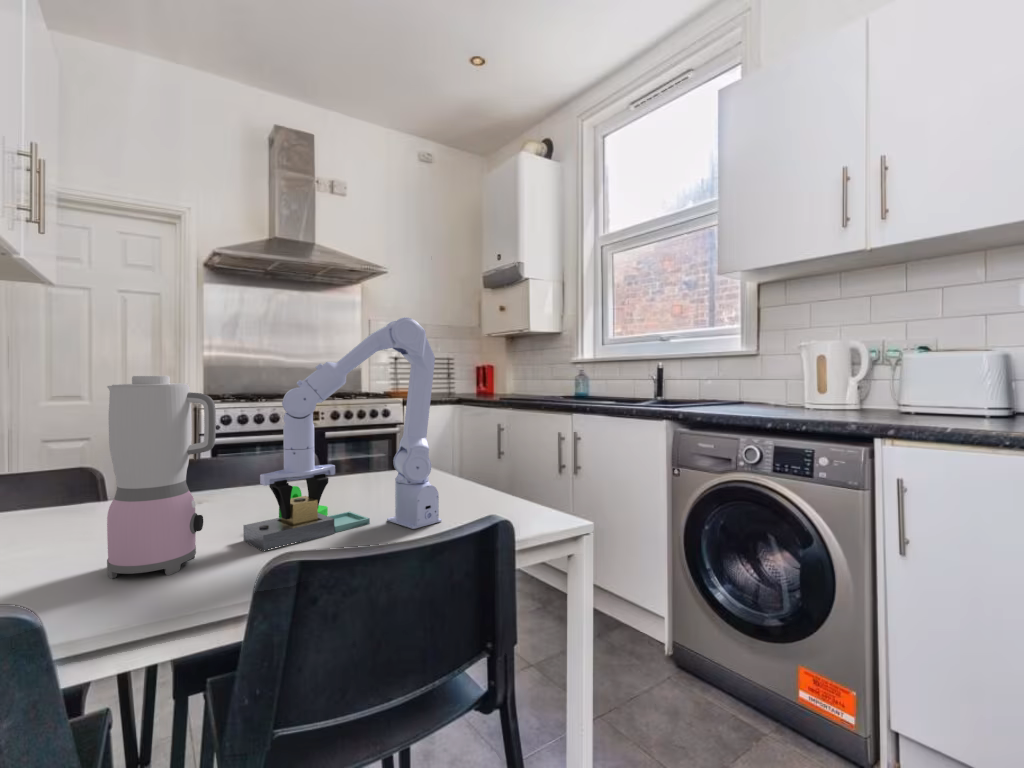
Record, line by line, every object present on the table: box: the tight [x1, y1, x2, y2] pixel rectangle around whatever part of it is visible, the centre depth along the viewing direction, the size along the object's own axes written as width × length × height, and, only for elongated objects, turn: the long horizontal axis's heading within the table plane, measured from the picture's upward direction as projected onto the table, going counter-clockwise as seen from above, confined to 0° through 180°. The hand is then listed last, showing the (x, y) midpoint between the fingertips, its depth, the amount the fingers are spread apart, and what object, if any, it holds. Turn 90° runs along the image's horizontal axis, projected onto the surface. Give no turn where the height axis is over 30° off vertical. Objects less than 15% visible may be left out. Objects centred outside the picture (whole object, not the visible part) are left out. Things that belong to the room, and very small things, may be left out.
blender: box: [106, 375, 217, 579], centre depth 87 cm, size 16×12×32 cm
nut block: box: [282, 495, 318, 527], centre depth 103 cm, size 5×5×7 cm
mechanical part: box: [278, 485, 329, 518], centre depth 114 cm, size 12×6×8 cm, turn 173°
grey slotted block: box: [242, 513, 335, 552], centre depth 102 cm, size 9×14×3 cm, turn 138°
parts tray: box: [327, 511, 371, 533], centre depth 111 cm, size 8×8×1 cm
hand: (299, 515), depth 103 cm, fingers closed on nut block, 5 cm apart
